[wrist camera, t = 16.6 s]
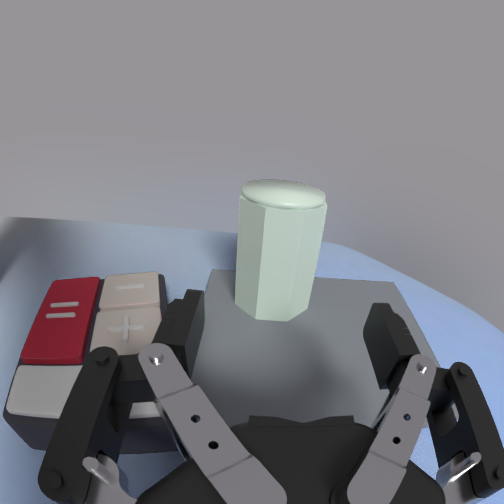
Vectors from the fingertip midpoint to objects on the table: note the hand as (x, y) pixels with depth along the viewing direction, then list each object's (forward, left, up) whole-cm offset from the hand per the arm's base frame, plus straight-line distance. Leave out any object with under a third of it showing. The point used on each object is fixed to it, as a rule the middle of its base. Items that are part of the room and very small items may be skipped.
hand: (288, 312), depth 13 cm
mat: (+4, +6, -8) cm, 10 cm away
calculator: (-12, +1, -8) cm, 15 cm away
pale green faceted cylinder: (0, +11, -7) cm, 13 cm away
